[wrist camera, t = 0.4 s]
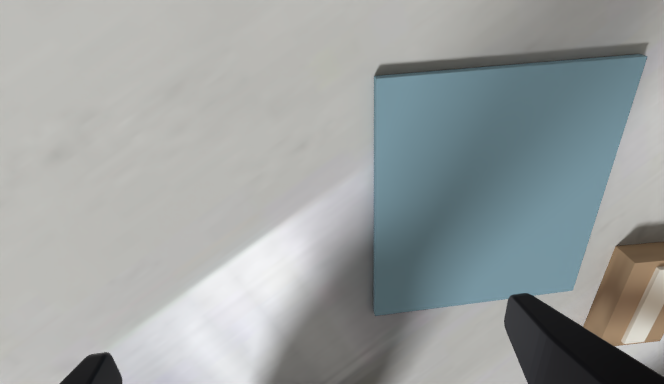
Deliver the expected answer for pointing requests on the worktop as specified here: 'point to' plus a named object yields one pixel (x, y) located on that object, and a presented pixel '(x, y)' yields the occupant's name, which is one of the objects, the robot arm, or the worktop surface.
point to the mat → (492, 177)
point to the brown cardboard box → (630, 296)
